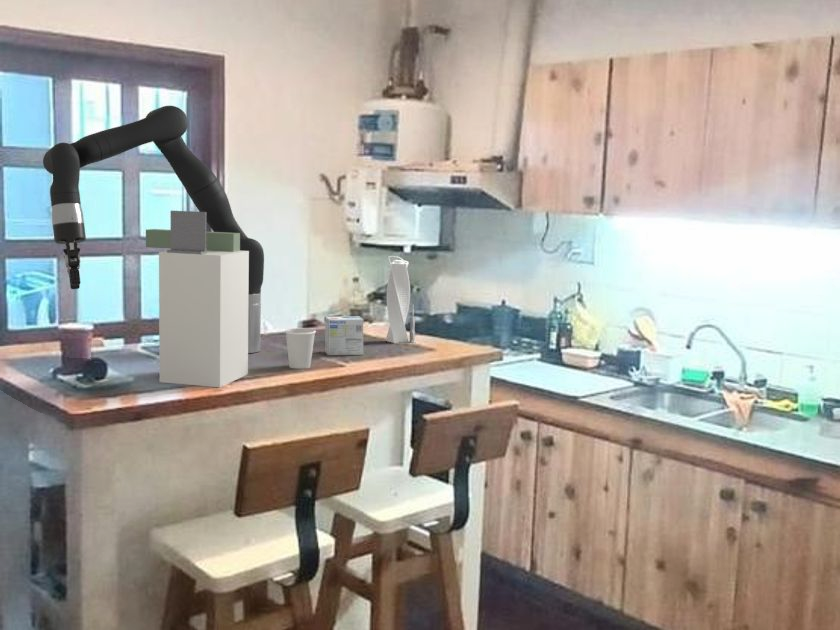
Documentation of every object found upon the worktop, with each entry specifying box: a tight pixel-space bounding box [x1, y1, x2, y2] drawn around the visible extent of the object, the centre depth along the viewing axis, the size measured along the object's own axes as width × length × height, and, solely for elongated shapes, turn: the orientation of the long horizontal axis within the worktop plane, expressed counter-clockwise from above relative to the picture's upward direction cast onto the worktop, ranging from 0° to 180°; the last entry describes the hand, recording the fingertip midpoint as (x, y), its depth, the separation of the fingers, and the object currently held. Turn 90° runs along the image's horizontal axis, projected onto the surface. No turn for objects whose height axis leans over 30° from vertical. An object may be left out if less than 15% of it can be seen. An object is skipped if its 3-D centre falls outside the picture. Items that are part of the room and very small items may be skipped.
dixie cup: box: [284, 327, 317, 370], centre depth 257 cm, size 8×8×10 cm
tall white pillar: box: [158, 250, 249, 388], centre depth 237 cm, size 17×16×32 cm
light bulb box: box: [324, 315, 364, 356], centre depth 280 cm, size 11×7×11 cm, turn 105°
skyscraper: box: [385, 255, 416, 346], centre depth 301 cm, size 8×8×28 cm
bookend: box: [166, 210, 207, 254], centre depth 228 cm, size 3×9×10 cm, turn 77°
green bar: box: [145, 228, 240, 252], centre depth 241 cm, size 4×24×4 cm, turn 77°
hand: (75, 286), depth 239 cm, fingers open, 8 cm apart
